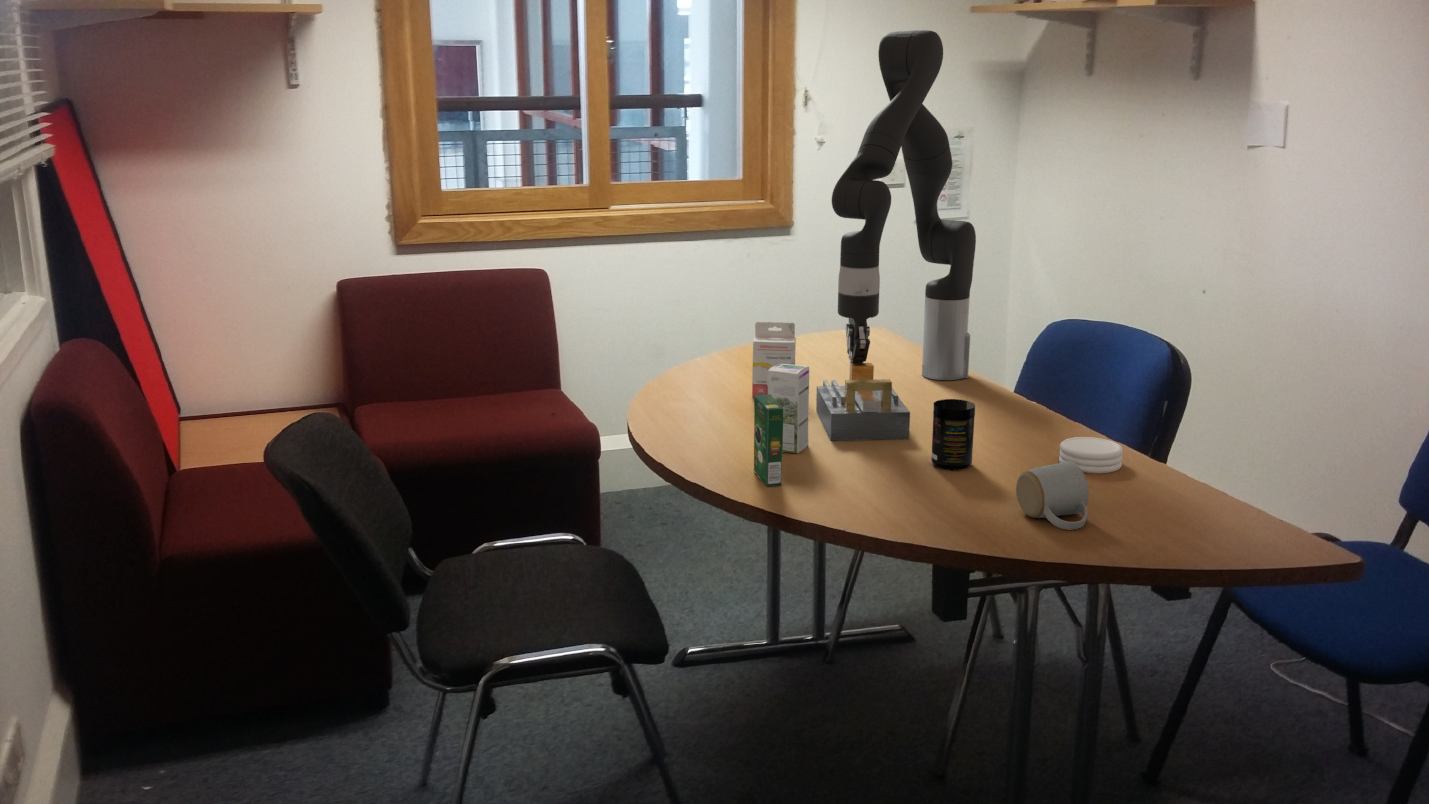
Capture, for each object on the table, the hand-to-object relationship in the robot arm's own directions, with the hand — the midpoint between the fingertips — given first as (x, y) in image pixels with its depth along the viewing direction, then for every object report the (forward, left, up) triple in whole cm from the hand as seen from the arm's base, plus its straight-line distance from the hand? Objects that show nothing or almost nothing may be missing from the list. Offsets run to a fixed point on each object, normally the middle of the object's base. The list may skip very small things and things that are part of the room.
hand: (856, 380), depth 218 cm
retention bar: (0, +9, -2) cm, 9 cm away
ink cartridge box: (+14, -17, -7) cm, 23 cm away
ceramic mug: (-21, +53, -8) cm, 58 cm away
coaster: (-34, +30, -8) cm, 46 cm away
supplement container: (-11, +29, -7) cm, 32 cm away
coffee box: (+20, +34, -7) cm, 40 cm away
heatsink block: (0, +5, -7) cm, 9 cm away
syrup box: (+15, +18, -7) cm, 24 cm away
